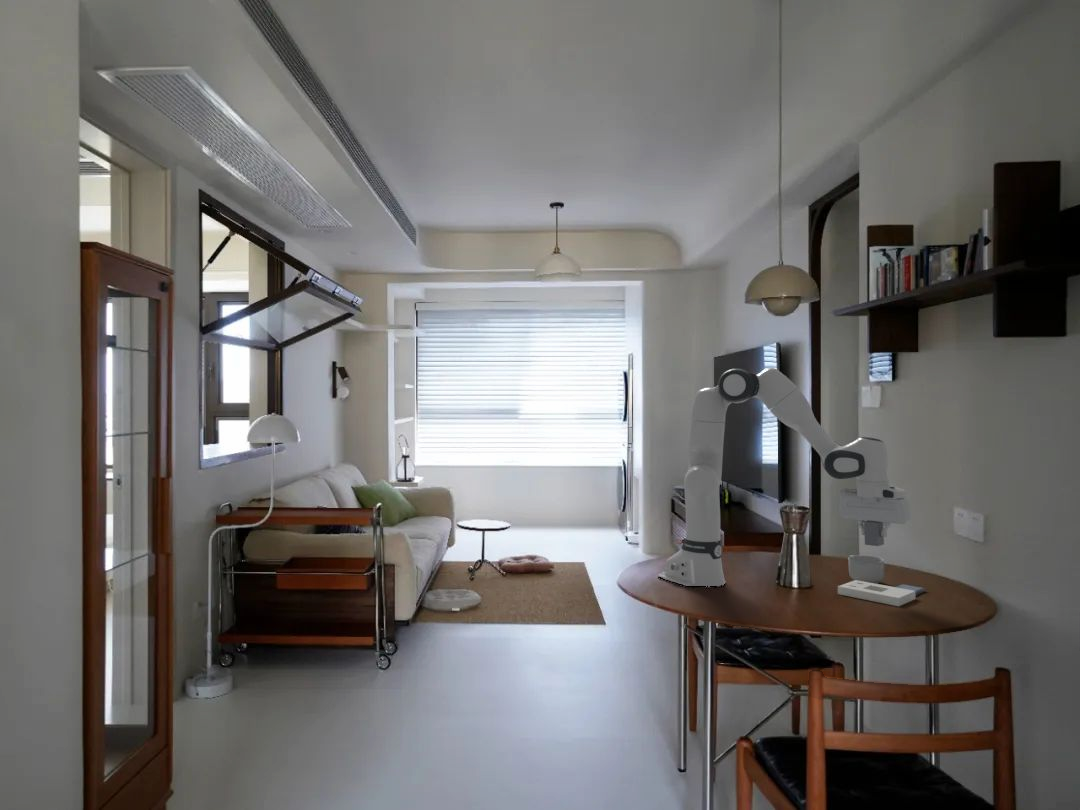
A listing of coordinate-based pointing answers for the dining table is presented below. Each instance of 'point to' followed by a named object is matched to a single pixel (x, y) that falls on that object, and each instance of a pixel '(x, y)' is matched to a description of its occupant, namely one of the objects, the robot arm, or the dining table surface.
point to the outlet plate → (877, 592)
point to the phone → (912, 588)
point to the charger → (873, 533)
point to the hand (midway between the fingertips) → (874, 535)
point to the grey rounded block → (866, 568)
